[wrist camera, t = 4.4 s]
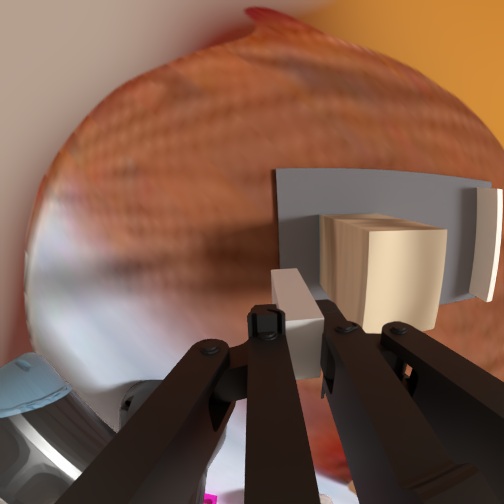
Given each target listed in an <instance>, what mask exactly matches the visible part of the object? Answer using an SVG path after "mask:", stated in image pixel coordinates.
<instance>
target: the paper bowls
mask: <svg viewBox="0 0 504 504" xmlns="http://www.w3.org/2000/svg"><path fill="white" fill-rule="evenodd" d="M319 497H320V502H321V504H333V502H332V499H331V498H330V497H329V496H327V495H324V494H320V493H319Z"/></svg>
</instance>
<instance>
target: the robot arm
mask: <svg viewBox="0 0 504 504" xmlns="http://www.w3.org/2000/svg"><path fill="white" fill-rule="evenodd" d="M271 283H272V304H266V305H255V306H254V307H253V308H252V309H251V312H249V313H248V315H247V322H248V335H249V339H248V340H247V341H246V342H245V343H243V344H241V345H239V346H235V347H231V348H229V346H228V344H227V343H226V342H224V341H223V340H218V339H207V340H206V339H205V340H202V341H199V342H197V343H195V344H194V345H193V346H192V347H191V348H190V349H189V350H188V352H187V353H186V354H185V355H184V356H183V357H182V359H181V360H180V361H179V362H178V363H177V365H176V366H175V367H174V368H173V369H172V370H171V372H170V373H169V374H168V375H167V376H166V377H165V379H164V380H149V381H143V382H140V383H138V384H136V385H134V386H133V387H131V388H130V389H129V391H128V392H127V394H126V396H125V398H124V399H123V401H122V404H121V408H120V421H119V432H118V433H116V432H114V431H113V430H112V429H111V428H110V427H109V426H108V425H107V424H106V423H105V422H104V421H103V420H102V419H100V418H99V417H98V416H97V415H96V414H95V413H94V412H93V411H92V410H91V409H90V408H89V407H88V406H87V404H86V403H85V402H84V401H83V400H82V399H81V398H80V397H79V396H78V395H77V394H76V393H75V392H74V390H73V389H72V386H71V385H70V384H69V383H68V382H66V381H64V380H63V378H62V377H61V376H60V375H59V374H58V373H57V372H56V370H55V369H54V368H53V367H52V366H51V365H50V363H49V362H48V361H47V360H46V359H45V358H44V357H43V356H41V355H39V354H37V353H33V352H28V353H25V354H23V355H21V356H19V357H17V358H15V359H14V360H12V361H10V362H9V363H7V364H6V365H4V366H2V367H1V368H0V504H203V502H204V494H205V485H206V477H207V471H208V468H209V466H210V465H211V463H212V461H213V460H214V458H215V457H216V455H217V453H218V452H219V450H220V449H221V447H222V445H223V443H224V441H225V437H226V428H227V423H228V420H229V418H230V416H231V414H232V412H233V409H234V407H235V403H236V401H237V400H241V399H245V398H247V415H246V454H245V493H244V504H321V502H320V497H319V491H318V486H317V481H316V476H315V471H314V466H313V461H312V456H311V451H310V446H309V441H308V436H307V431H306V426H305V422H304V417H303V412H302V407H301V403H300V398H299V393H298V389H297V384H296V380H299V379H309V378H318V377H320V372H321V368H322V371H323V382H322V391H321V399H322V398H324V394H325V393H326V396H327V399H328V402H329V406H330V409H331V412H332V415H333V418H334V421H335V424H336V427H337V431H338V434H339V437H340V440H341V443H342V447H343V450H344V453H345V456H346V460H347V463H348V466H349V470H350V473H351V476H352V480H353V483H354V486H355V489H356V493H357V497H358V500H359V504H504V382H502V381H501V380H499V379H498V378H496V377H494V376H493V375H491V374H490V373H488V372H486V371H485V370H483V369H482V368H480V367H479V366H477V365H475V364H474V363H472V362H470V361H469V360H467V359H466V358H464V357H462V356H461V355H459V354H458V353H456V352H454V351H453V350H451V349H449V348H448V347H446V346H445V345H443V344H441V343H440V342H438V341H436V340H435V339H433V338H431V337H430V336H428V335H426V334H425V333H423V332H421V331H420V330H418V329H416V328H415V327H413V326H411V325H409V324H407V323H404V322H401V321H393V322H389V323H386V324H384V325H383V327H382V331H381V334H380V333H365V331H364V330H363V329H362V327H361V326H360V325H359V324H357V323H355V322H352V321H347V320H346V318H345V317H344V315H343V314H342V313H341V311H340V310H339V308H338V307H337V305H336V304H335V303H334V302H332V301H330V300H328V299H323V300H314V298H313V296H312V294H311V293H310V291H309V289H308V287H307V285H306V284H305V282H304V280H303V278H302V276H301V275H300V273H299V271H298V269H297V268H292V269H275V270H271ZM407 364H408V365H409V366H411V367H412V372H411V375H410V376H408V375H406V374H405V371H406V367H407Z"/></svg>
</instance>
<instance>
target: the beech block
mask: <svg viewBox="0 0 504 504" xmlns="http://www.w3.org/2000/svg"><path fill="white" fill-rule="evenodd" d="M319 232H320V274H319V284H320V285H321V286H322V288H323V289H324V291H325V292H326V293H327V295H328V296H329V298H330V299H331V300H332V302H334V303H335V304H336V305H337V307H338V308H339V310H340V311H341V313H342V314H343V315H344V317H345V318H346V320H347V321H352V322H355V323H357V324H359V325H360V326H361V327H362V329H363V330H364V331H365V333H380V334H381V331H382V327H383V325H384V324H386V323H389V322H393V321H401V322H404V323H407V324H409V325H411V326H413V327H415V328H416V329H418V330H420V331H425V330H430V329H434V325H435V321H436V316H437V311H438V306H439V300H440V294H441V288H442V281H443V273H444V265H445V255H446V243H447V229H443V228H439V227H435V226H431V225H427V224H422V223H418V222H414V221H409V220H405V219H400V218H395V217H390V216H386V215H381V214H376V213H356V214H319Z"/></svg>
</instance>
